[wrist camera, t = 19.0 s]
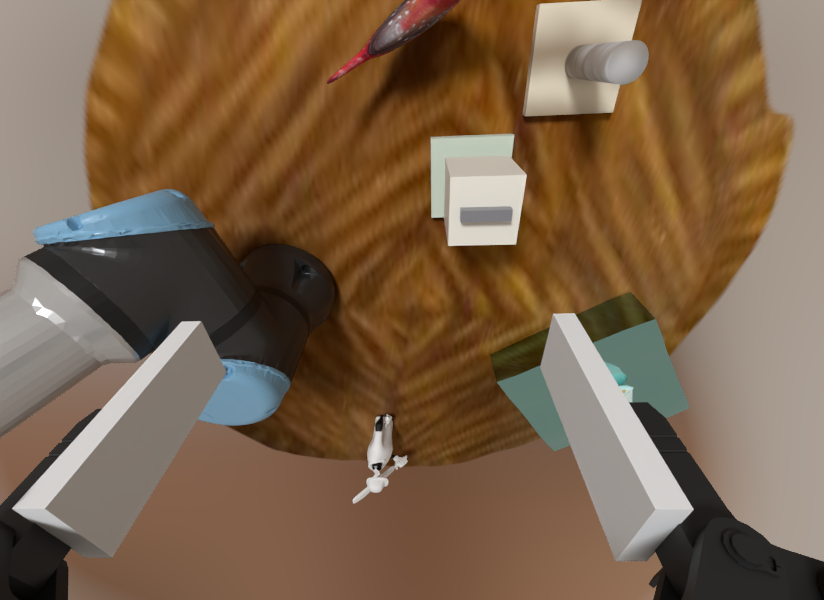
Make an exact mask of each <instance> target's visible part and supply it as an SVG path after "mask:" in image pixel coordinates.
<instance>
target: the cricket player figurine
mask: <svg viewBox="0 0 824 600" xmlns="http://www.w3.org/2000/svg"><path fill="white" fill-rule="evenodd" d="M387 416H388V417H387ZM391 418H392V416H390V415H388V414H387V415H386V417H383V415H381V417H376V419H375V428H374V434H373V438H372V441H371V443H370V445H369V447H368V452H367V458H368V463H369V464H368V467H369V468H370V469H371V470H372V471H373V472H374V473H375V475H374V476H373V477H372V478H368V479H367V482H366V483H367V487H366V488H365V489H364V490H363V491H362V492H360V493H359V494H358V495H356V496H355V497H354V498H353V503H357V502H358V501H359V500H361V499H363V498H364V497H365V496H366V495H367V494H368V493H370V492H375V493H378V492H380V491H381V490H382V489H383V487H385V486H387V485H388V479H387V478H386V477H388V476H389V475H390V474H391V473H392V472H393V471H394V469H396V470H397V469H398V467H400V468H401V467H402V466H404V465H405V464H406V463H407V462H408V461H407V459H406V458H407V456H405V457H403V458H402V457H399V456H398V455H391V454H392V451H393V446H392V428H393V421H392V419H391ZM390 458H393V460H394V461H395V465H394V466H391V467H390V468H389V469H388V470H386V471H385V472H384V473H383V474H382V475H380V473H379V471H380V470H382V469H383V468H384V466H385V465H386V464H387V462H388V461H389V459H390ZM397 466H398V467H397ZM379 475H380V476H379ZM377 476H379V477H377Z"/></svg>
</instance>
